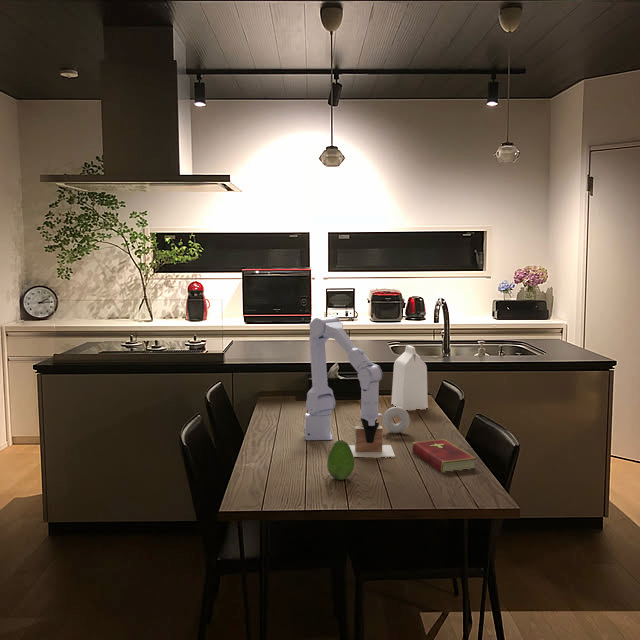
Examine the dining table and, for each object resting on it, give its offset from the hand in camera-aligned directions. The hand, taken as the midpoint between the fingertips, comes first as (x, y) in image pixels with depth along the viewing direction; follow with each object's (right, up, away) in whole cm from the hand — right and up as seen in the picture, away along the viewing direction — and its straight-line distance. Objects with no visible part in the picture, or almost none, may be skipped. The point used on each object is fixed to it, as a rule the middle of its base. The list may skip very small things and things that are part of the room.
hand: (369, 440), depth 227 cm
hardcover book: (+23, -6, -8) cm, 25 cm away
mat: (0, -4, +1) cm, 4 cm away
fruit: (-10, -7, -25) cm, 28 cm away
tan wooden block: (0, -3, +1) cm, 3 cm away
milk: (+22, +3, +62) cm, 65 cm away
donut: (+12, -1, +23) cm, 25 cm away
